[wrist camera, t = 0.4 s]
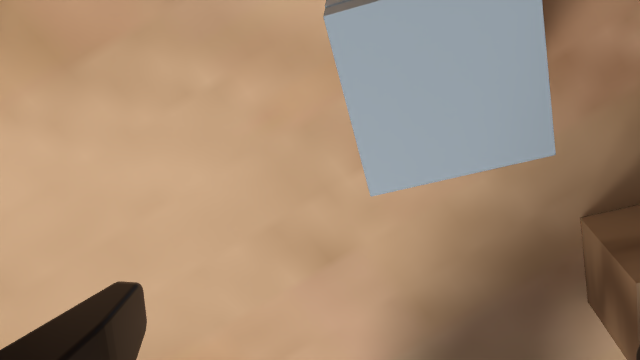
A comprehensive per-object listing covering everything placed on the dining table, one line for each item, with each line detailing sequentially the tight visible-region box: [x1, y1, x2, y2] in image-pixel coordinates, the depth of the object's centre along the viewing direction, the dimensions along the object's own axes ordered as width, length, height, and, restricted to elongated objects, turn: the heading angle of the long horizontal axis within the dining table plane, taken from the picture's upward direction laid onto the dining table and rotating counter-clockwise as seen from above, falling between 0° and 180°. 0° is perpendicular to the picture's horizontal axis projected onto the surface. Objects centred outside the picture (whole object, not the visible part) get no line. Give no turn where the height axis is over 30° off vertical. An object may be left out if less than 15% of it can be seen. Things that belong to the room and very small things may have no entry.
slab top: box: [323, 0, 556, 196], centre depth 16 cm, size 6×6×2 cm
